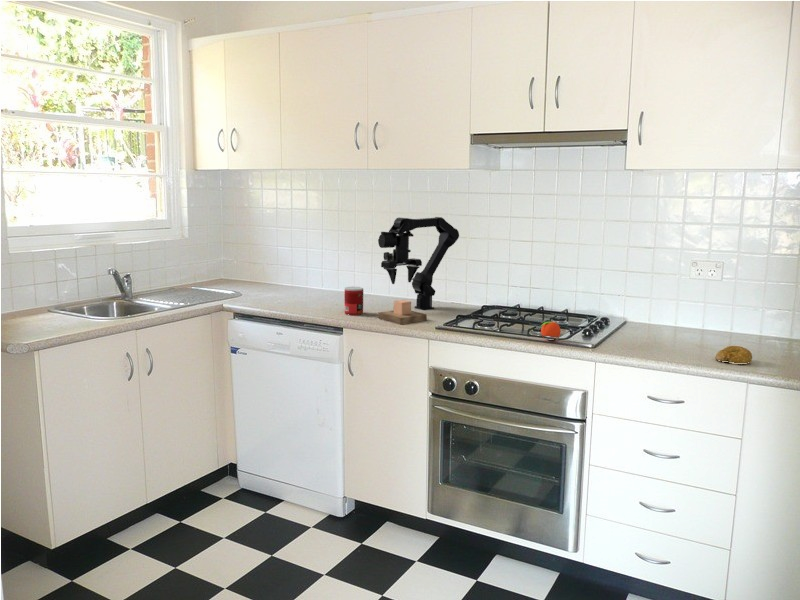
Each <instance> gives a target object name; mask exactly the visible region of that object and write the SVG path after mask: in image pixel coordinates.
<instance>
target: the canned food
mask: <svg viewBox="0 0 800 600" xmlns="http://www.w3.org/2000/svg"><path fill="white" fill-rule="evenodd" d="M363 313H364V287H361V286H347V287H344V314H345V315H347V314H349V315H348V316H360V315H359V314H362V315H363Z"/></svg>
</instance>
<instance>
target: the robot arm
mask: <svg viewBox="0 0 800 600" xmlns="http://www.w3.org/2000/svg"><path fill="white" fill-rule="evenodd" d="M431 227H435V230H436V231H437V232H438V234H439V236H438V243H437V245H436V248H435V249H434V250H433V253H431V256H430V257H429V260H428V261H427V263H426V264H425V267H424V268H423V270H422V271H421V272H419V271H418V270H419V269H420V267H422V266H423V265H422V264H423V262H422V260H421V259H420V258H413V257H412V258H409V253H411V249H410V247H409V245H410V237H414V234H413V233H412V231H414V230H415V229H418V228H419V229H420V228H431ZM459 237H460V232H459V230H458V229H457V228H456V227H454V226H453V225H451V223H450V222H448V221H446V220H445V218H443V217H442V216H441V217H440V216H435V217H425V218H423V217H422V218H408V217H407V218H406V217H396V218H395V219H394V221H393V225H392V226H391V227H390V229H388V231H380V235H379V237H378V240H377V241H378V246H379V248H381V249H387V248H390V249H391V248H393V250H392V253H391V252H389V251H385V252H383V260H382V261H381V263H380V264H381V265H380V267H381V268H382V269H383V270H385V271H387V273H388V277H389V279H390V282H391V284H392V285H395V283H396V277H397V272H398V271H397V270H398V269H397V267H398V266H399V267H400V266H406V269H407V282H408V283H411V287H412V289H413V291H414V294H416V305H415V306H414V308H415V309H419V310H424V311H425V310H431V309H435V306H433V296H435V294H436V289H434V288H433V287H432V285H433V278H434V277H433V276H434V274H435V272H436V271H437V269H438V268H439V265H440V263H441V262H442V260H443V259H444V257H445V255H446V253H447V251H448V250H449V249H450V247H452V246H453V245H455V243H456V242H457V241H458V239H459Z"/></svg>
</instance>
